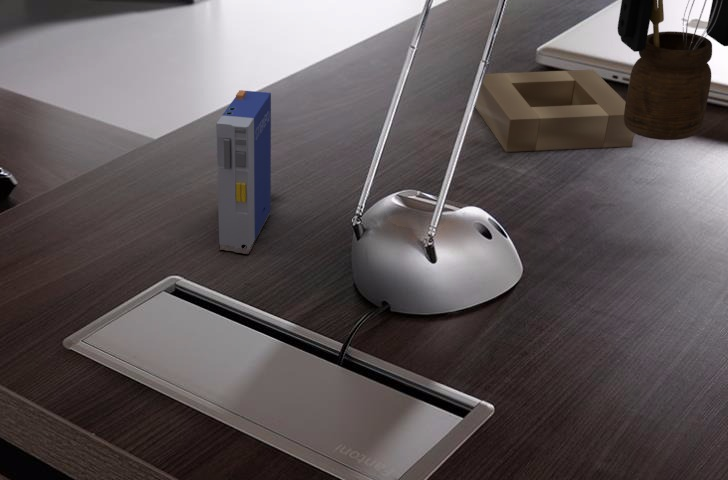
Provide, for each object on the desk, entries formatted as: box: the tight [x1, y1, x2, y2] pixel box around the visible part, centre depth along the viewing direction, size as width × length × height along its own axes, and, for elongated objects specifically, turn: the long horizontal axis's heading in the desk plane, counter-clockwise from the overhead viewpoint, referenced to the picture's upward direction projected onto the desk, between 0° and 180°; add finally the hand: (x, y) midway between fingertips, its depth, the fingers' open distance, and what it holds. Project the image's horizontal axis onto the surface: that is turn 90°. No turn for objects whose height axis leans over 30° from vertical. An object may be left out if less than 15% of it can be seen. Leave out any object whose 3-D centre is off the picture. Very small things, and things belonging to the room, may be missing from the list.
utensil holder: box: [624, 0, 722, 141], centre depth 83 cm, size 6×6×12 cm
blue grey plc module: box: [215, 89, 272, 250], centre depth 93 cm, size 8×3×12 cm, turn 164°
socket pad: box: [474, 68, 635, 153], centre depth 114 cm, size 13×13×4 cm
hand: (675, 41), depth 83 cm, fingers closed on utensil holder, 6 cm apart
